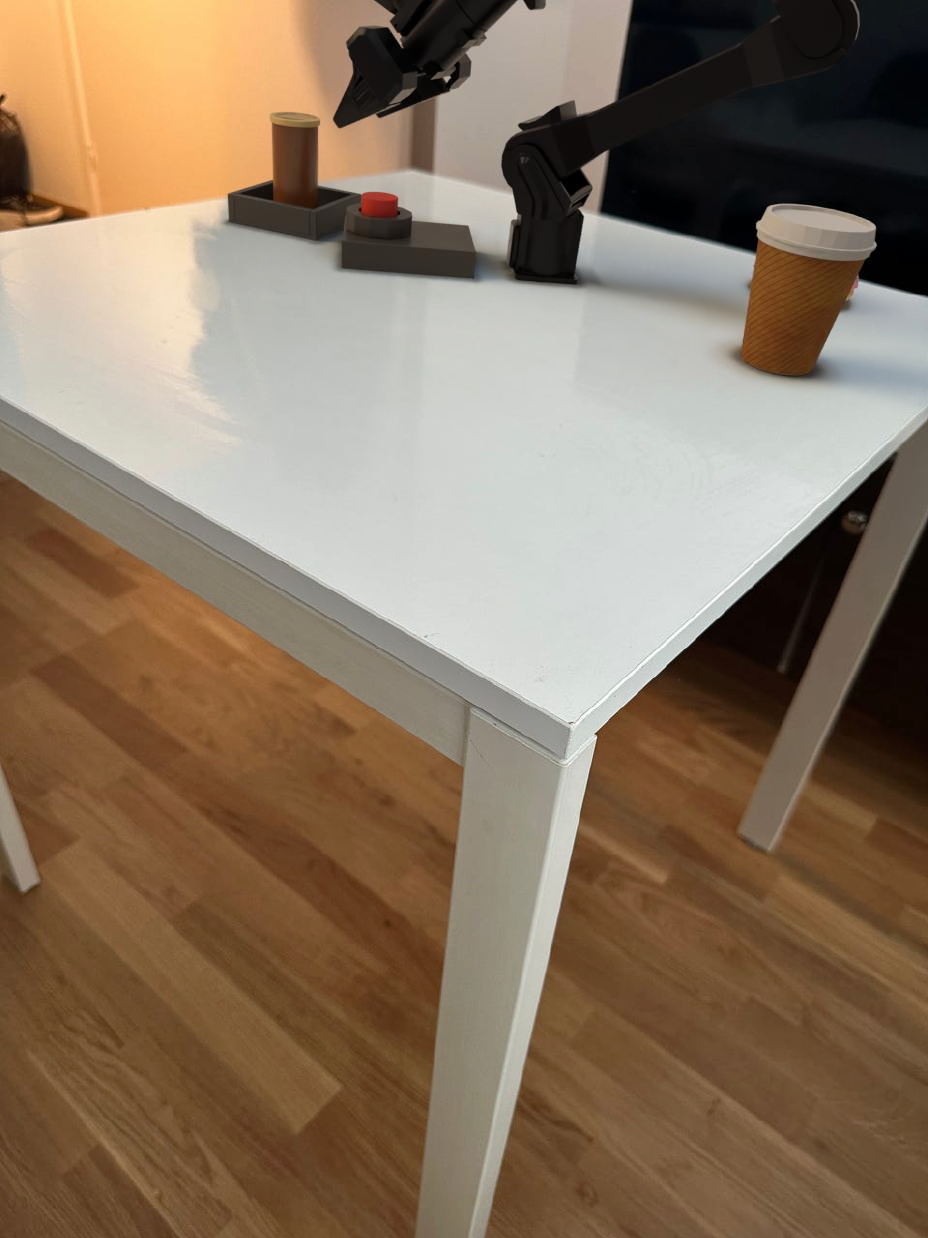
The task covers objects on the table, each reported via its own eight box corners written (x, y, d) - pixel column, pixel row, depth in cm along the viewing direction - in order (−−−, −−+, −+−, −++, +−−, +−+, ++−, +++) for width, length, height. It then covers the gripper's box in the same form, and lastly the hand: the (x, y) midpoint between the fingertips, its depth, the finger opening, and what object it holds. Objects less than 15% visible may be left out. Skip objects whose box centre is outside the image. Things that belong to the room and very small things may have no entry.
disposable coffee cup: (773, 388, 76) (821, 235, 69) (699, 346, 82) (736, 202, 75) (855, 377, 80) (908, 232, 73) (778, 338, 86) (820, 201, 79)
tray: (361, 222, 105) (362, 193, 103) (316, 241, 97) (316, 211, 95) (279, 205, 108) (278, 177, 106) (228, 223, 99) (227, 193, 98)
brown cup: (329, 221, 102) (330, 120, 96) (289, 225, 99) (288, 121, 93) (301, 209, 105) (300, 110, 99) (262, 213, 102) (259, 112, 96)
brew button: (397, 211, 94) (398, 193, 93) (397, 220, 91) (398, 201, 90) (361, 208, 93) (362, 190, 92) (360, 217, 90) (361, 198, 89)
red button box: (466, 251, 100) (470, 207, 97) (473, 279, 92) (477, 232, 89) (344, 241, 98) (345, 196, 95) (341, 269, 90) (342, 220, 88)
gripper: (452, -77, 90) (348, 41, 99) (370, -89, 76) (257, 50, 85) (518, 29, 93) (411, 134, 102) (451, 37, 78) (333, 158, 88)
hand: (357, 118), depth 94 cm, fingers open, 9 cm apart
